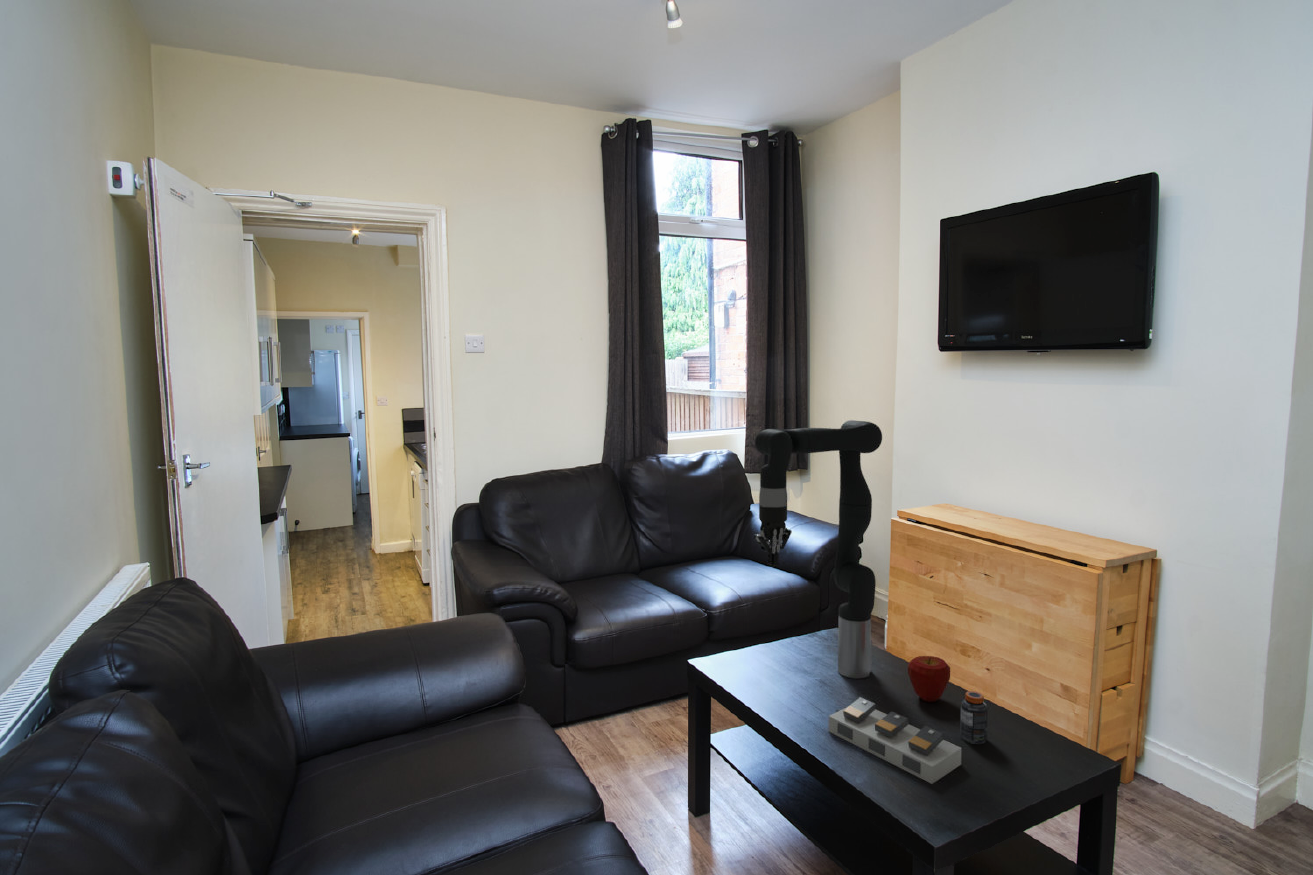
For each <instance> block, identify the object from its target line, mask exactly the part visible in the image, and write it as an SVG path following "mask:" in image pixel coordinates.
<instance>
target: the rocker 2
mask: <svg viewBox="0 0 1313 875" xmlns="http://www.w3.org/2000/svg"><path fill="white" fill-rule="evenodd" d="M908 724H909V718H908V717H905V716H904V715H901V714H900V713H899V714H898V713H897V712H894V711H890V712H889V713H887V715H886V716H885V717H884V718H883V719H881V720H879V721H878V722H877V723H875V731H877V732H879V733H882V734H884V735H886V736H888V737H890V738H892V737H893V736H895V735H896V734H897V733H899V732H900V731H901V730H902V729H904V728H905V727H906V726H907V725H908Z"/></svg>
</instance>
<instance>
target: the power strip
mask: <svg viewBox="0 0 1313 875" xmlns="http://www.w3.org/2000/svg"><path fill="white" fill-rule="evenodd" d="M846 708H847V707H844V708H842V709H841V710H839V709H837V710H836V711H835V712H834V713H832V714H830V715H828V732H829V733H831V734H833V735H835V736H836V737H838V738H841V739H842V740H845V741H847V742H849V743H851V744H853V745H855V746H856V747H858V748H861V749H862V750H864V751H866V752H868V753H871V754H872V755H874V756H876V757H878V758H880V759H882V760H884V761H886V762H888V763H890V764H892V765H894V766H896V767H898V768H899V769H902V770H904V771H905V772H908V773H910V774H911V775H913V776H915V777H917V778H919V779H921V780H924V781H925V782H927V783H929V784H931V785H933V784H934V783H936V782H937V781H940V779H942V778H943V777H945V776H946V775H948V774H949V773H951V772H952V771H954V770H955V769H956V768H958V767H960V766H962V747H961V746H958V745H955V744H953V743H951V742H949V741H948V740H943V741H942V742H941V743H940V744H939V745H938V746H937V747H936V748H935V749H934V750H933V751H932V752H931V753H930V754H929V755H928V756H925V755H923V754H921V753H919V752H917V751H914V750H912V749H910V748H909V744H908V742H909V740H910V739H912V738H913V737H914V736H915V735H916V734H917V733H918V732H919V731H920V730H921V729H920V728H918V727H916V726H914V725H911V724H909V723H908V725H907V726H906V727H905V728H904V729H902V730H901V731H900V732H899V733H897V734H896V735H895V736H893V737H892V738H890V737H888V736H886V735H884V734H882V733H879V732H877V731H875V723H877V722H878V721H879V720H881V719H883V718H884V717H885V716H886V715H888V713H885V712H882V711H880V710H878V709H875V710H874V711H873V712H872V713H871V714H870V715H869V716H867V717H866V718H865V719H864V720H863V721H862V722H860V723H859V724H858V723H856V722H854V721H852V720H850V719H847V718H845V717H844V714H843V711H844V710H845V709H846Z"/></svg>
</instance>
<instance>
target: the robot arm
mask: <svg viewBox="0 0 1313 875" xmlns="http://www.w3.org/2000/svg"><path fill="white" fill-rule="evenodd" d="M882 441H883V432H882V429H881V428H880V427H879V426H878V425H877V424H876V423H874V422H871V421H865V420H854V419H853V420H852V419H851V420H846V421H845V422H843V424H842V425H841V427H840V428H830V427H829V428H827V427H804V428H803V427H801V428H794V429H782V428H781V429H779V428H778V429H777V428H776V429H775V428H767V429H764V430H762V431H760V432H759V433H758V434H757V435H756V437H755V439H754V446H755V449H756V450H757V451H758V452H759V453H760V454H762V455H765V456H769V460H768V464H764V465H763V466H761V468H760V472H759V473H760V474H759V475H760V478H759V495H758V504H759V505H758V506H759V507H758V512H759V513H758V519H759V521H760V523H761V525H760V528H759V532H758V534H754V535H753V539H754V540H755V542H756V544H757V545H758V546H759V548H760V550H761V551H762V552H767V560H766V561H767V565H768V566H769V567H773V568H774V567H777V566H779V553H780V551H781V550H784V549H785V548H786V547H785V546H786V545H787V543H788V540H789V539H790V537H791V535H792V530H791V529H788V527H786V522H787V521H788V491H787V490H788V489H787V480H788V479H787V477H788V476H787V471H788V468H789V466H790V463H791V462H790V461H791V458H792V454H795V455H803V454H815V453H824V452H838V453H839V455H838V456H839V457H838V458H839V469H840V470H839V476H840V477H839V479H840V480H839V499H838V501H839V502H838V504H839V506H838V534H837V546H836V555H835V560H834V561H835V562H834V569H833V579H834V582H835V585H836V587H837V588H838V589H840V590H841V591H844V592H845V593H847V594H848V601H847V602H844V603H841V604H840V605H839V607H838V634H837V635H838V637H837V640H838V642H837V643H838V644H837V647H838V648H837V654H838V655H837V672H838V673H839V674H840V675H842V676H843V677H846V678H850V679H864V678H868V677H870V674H871V672H872V667H873V666H872V663H873V662H872V660H873V658H872V657H873V641H872V640H871V636H872V634H871V633H872V631H871V630H872V629H871V628H872V612H873V610H874V606H875V599H876V597H875V596H876V575H875V572H874V571H873V570H872V568H871V567H868V566H867V565H864V564H861V563H859V546H860V542H861V539H862V538H863V536H864V534H865V533H866V531H867V530H868V528H869V526H870V524H871V521H872V512H873V511H872V509H873V498H872V492H871V491H870V488H869V485H868V483H867V480H866V479H865V476H864V474H863V471H862V465H861V454H871V453H874V452H875V451H876V450H878V449H879V448H880V446H881V444H882Z"/></svg>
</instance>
